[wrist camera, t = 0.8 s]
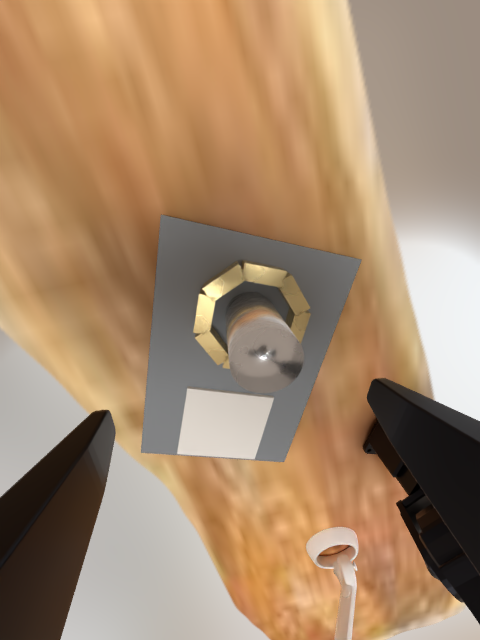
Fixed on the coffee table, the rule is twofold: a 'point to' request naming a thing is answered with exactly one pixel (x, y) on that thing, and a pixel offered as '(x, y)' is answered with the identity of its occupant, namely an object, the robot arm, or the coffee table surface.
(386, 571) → the coffee table surface
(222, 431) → the mat
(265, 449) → the board
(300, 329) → the brass octagonal ring
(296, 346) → the peg
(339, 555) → the hook
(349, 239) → the coffee table surface
